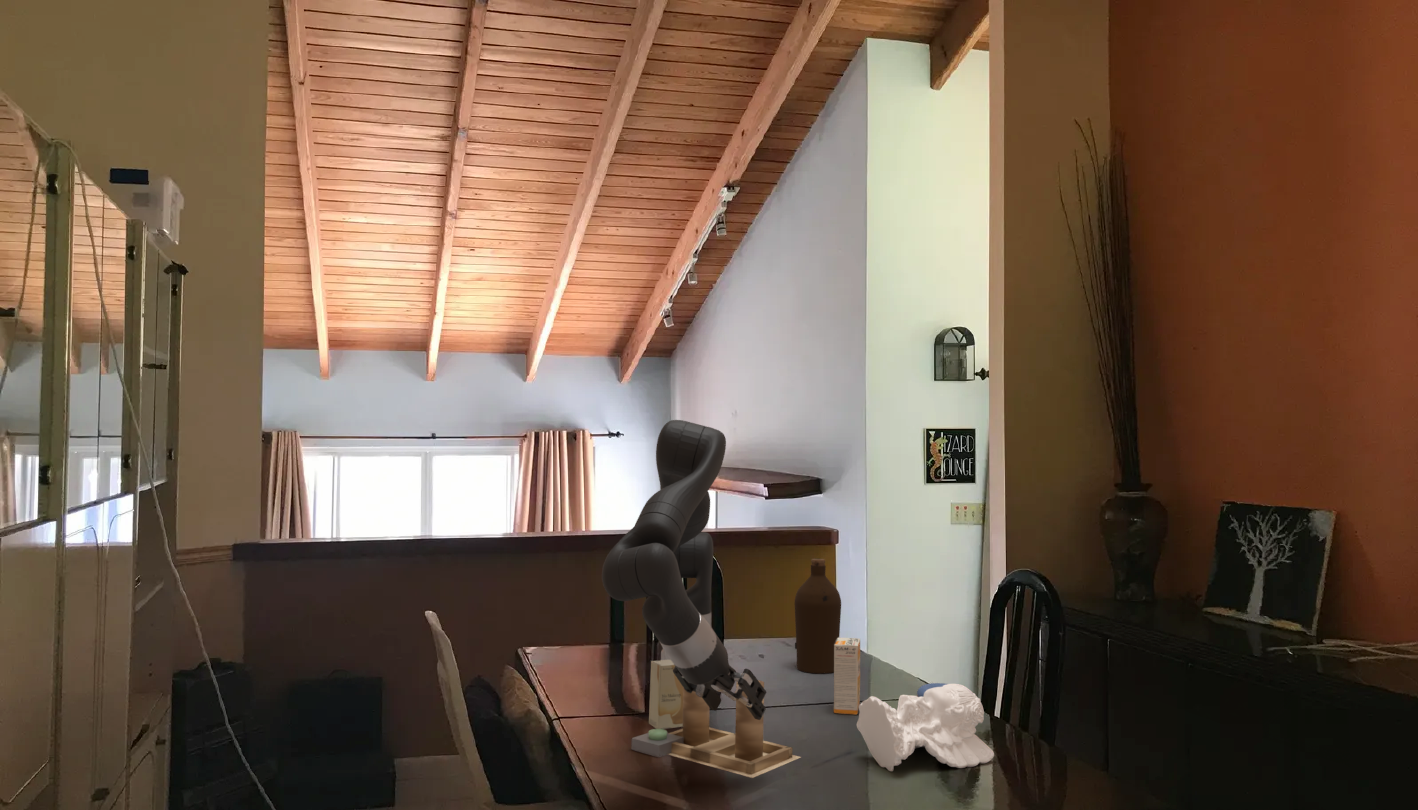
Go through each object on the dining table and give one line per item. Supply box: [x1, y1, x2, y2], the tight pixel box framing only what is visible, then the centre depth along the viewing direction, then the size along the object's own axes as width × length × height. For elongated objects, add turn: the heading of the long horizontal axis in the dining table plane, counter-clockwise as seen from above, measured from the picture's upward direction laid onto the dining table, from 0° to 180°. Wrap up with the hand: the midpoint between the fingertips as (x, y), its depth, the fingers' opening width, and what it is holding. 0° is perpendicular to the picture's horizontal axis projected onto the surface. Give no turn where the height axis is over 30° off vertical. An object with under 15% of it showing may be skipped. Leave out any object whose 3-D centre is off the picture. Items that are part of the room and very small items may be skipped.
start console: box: [631, 728, 684, 758], centre depth 160 cm, size 6×6×4 cm
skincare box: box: [648, 659, 683, 730], centre depth 175 cm, size 6×4×12 cm
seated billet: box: [682, 682, 710, 747], centre depth 162 cm, size 4×4×12 cm
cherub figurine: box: [856, 683, 995, 772], centre depth 161 cm, size 13×12×20 cm
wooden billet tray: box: [666, 726, 802, 779], centre depth 159 cm, size 22×13×3 cm, turn 51°
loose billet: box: [734, 679, 765, 761], centre depth 155 cm, size 4×4×12 cm
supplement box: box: [833, 637, 861, 716], centre depth 191 cm, size 8×5×13 cm, turn 168°
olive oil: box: [794, 558, 842, 675], centre depth 225 cm, size 11×11×25 cm
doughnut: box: [916, 682, 947, 697], centre depth 194 cm, size 10×10×5 cm
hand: (738, 710), depth 152 cm, fingers open, 8 cm apart
